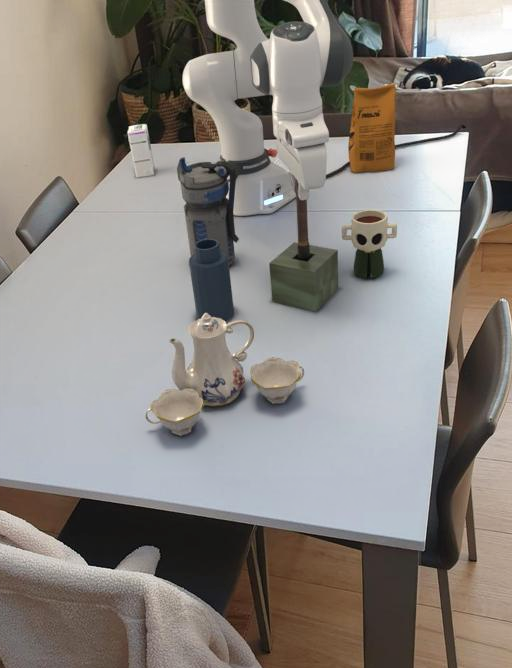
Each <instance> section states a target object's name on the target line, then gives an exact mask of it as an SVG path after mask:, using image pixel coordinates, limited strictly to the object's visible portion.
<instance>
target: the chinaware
mask: <svg viewBox="0 0 512 668" xmlns="http://www.w3.org/2000/svg"><path fill="white" fill-rule="evenodd" d="M235 325H245V326H247V328H248V330H249V336H248V340H247V342H246V343H245V344H244V346H243V347H241V348H240V349H239V350H237V351H235V352H234V353H233V354H232V353H231V351H230V350H229V347H228V346H227V340H226V334H230V335H231V334H233V333H234V329H233V327H232V326H235ZM187 329H188V333H189V335H190V336H191V339H192V341H193V350H194V351H193V356H192V360H191V362H190V364H189V366H188V368H187V369H186V353H185V346H184V344H183V343H182V341H181V340H179V339H177V338H170V339H169V340H168V343H171V344H172V345H173V346H174V349H175V350H174V357H173V362H172V363H173V364H172V368H171V378H172V381H173V383H174V386H176V387H177V389H175V388H170V389H165V390H164V391H163V392H162V393H160V395H159V397H158V398H157V399H154V400H153V401H152V403H151V404H150V408H148V409H147V410H146V412H145V419H146V421H147V422H148V423H150V424H153V425H157V424H160V423H161V425H162V427H163V428H166V429H168V430H170V431H171V433H172V434H174V435H178V436H181V437H182V436H184V435H187V434H189V433H191V432H192V428H193V427H194V426H195V425H196V423H197V422H198V419H199V418H200V413H201V410H202V409H203V407H204V406H205V407H211V408H213V407H223V406H225V405H229V404H230V403H233V402H234V401H235V400H236V399H237V398H239V396H240V395H241V390H242V388H244V386H245V385H246V378H245V375H244V368H243V366H242V364H241V363H240V362H245V361H246V360H247V358H248V353H247V352H246V351H247V350H248V349H249V348H250V346H251V345H252V343H253V341H254V338H255V331H254V327H253V326H252V324H250V323H249V322H248V321H246V320H244V319H236V320H232V321H230V322H228V323H227V321H226V322H225V321H224V320H222V319H221V318H216V317H211V316H210V315H209V314H208V313H204V315H203V316H202V318H201V319H198V318H197V320H195V321H193V322H192V323H191V324H190V325H188V328H187ZM304 376H305V369H304V368H303V367H302V366H301V365H299V363H298V361H294V360H284V359H283V358H281V357H274V356H273V357H270V358H267V359H266V360H264V361H263V362H262V363H256V364H254V365H252V366H251V368H250V380H251V383H252V384H253V385H254V386H255V387H256V388H257V390H258V392H259V393H260V394H261V395H262V396H263V397H265V398H266V399H267V401H268V402H270V403H271V404H283V403H285V402H286V401H287V399H288V398H289V396H291V394H292V393H293V392H294V391H295V388H296V387H297V383H299V382H301V380H302V379H303V377H304ZM149 412H152V413H153V414H154V416H155V417H156V418H157V419H158V421H153V420H151V419H149V417H148V413H149Z"/></svg>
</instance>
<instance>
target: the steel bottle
mask: <svg viewBox="0 0 512 668" xmlns="http://www.w3.org/2000/svg"><path fill="white" fill-rule="evenodd" d="M194 250H195V254H193V255H192V256H191V255H190V257H189V258H188V265H189V272H190V279H191V284H192V285H191V286H192V293H193V300H194V306H195V314H196V318H197V320H198V319H201V318H202V316H203V315H204V313H208V314H209V315H210V316H211V317H216V318H221V319H222V320H224V321H225V322H226V323H227V322H229V320H231V319H232V318H233V317H234V315H235V308H234V299H233V297H234V296H233V289H232V281H231V280H232V279H231V272H230V266H229V261H228V255H227V253H226V252H224V251H222V250H220V246H219V242H218V240H215V239H203V240H200V241H198V242H196V243H195V245H194Z"/></svg>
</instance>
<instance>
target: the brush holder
mask: <svg viewBox="0 0 512 668" xmlns="http://www.w3.org/2000/svg"><path fill="white" fill-rule="evenodd" d="M297 243H298V242H296V241H294V242H292V243H291V244H290V245H289V246H288V247H287V248H285V249H284V250H283V251H282V252H281V253H279V255H277V256H276V257H274V258H273V259H272V260H271V261H270V262H269V264H268V265H269V276H270V277H269V278H270V290H271V301H272V302H273V303H277V304H281V305H285V306H289V307H294V308H298V309H302V310H307V311H311V312H314V313H315V312H317V311H318V310H319V309H320V308H321V307H322V306H323V305H324V304H325V303H326V302H327V301H329V300H330V298H331V297H332V296H333V295H334V294H335V293H336V292H337V291H338V290H339V251H338V249H335V248H330V247H324V246H318V245H313V244H310V260H308V261H307V262H306V261H301V260H298V249H297Z"/></svg>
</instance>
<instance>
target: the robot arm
mask: <svg viewBox="0 0 512 668" xmlns="http://www.w3.org/2000/svg"><path fill="white" fill-rule="evenodd" d="M283 1H284V2H286V3H289V4H291V5H293V7H295V8H296V9H297V11H298V12H299V15H300V16H301V19H302V21H298V20H297V21H288V22H287V21H286V22H284V23H281V24H279V25H277V26H275V27H274V28H273V29H272V30H271V32H270V34H269V35H270V36H269V38H268V37H267V36H266V35H265V33H264V32H263V30H262V28H261V26H260V23H259V20H258V18H257V13H256V12H257V11H256V6H255V0H204V6H205V7H204V9H205V17H206V23H207V26H208V27H209V29H210V30H211V31H212V32H213V33H215V34H216V35H218V36H220V37H223V38H226V39H228V40H230V41H232V42H233V43H234V44H235V45H236V48H235V49H233V50H227V51H221V52H220V51H219V52H214V53H213V52H212V53H207V54H204V55H200V56H198V57H195V58H193V59H190V60H188V62H187V63H186V65H185V66H184V68H183V72H182V86H183V89H184V92H185V93H186V96H187V97H188V98H189V99H190V100H191V101H192V102H194V103H196V104H198V105H199V106H200V107H202V108H203V109H204V110H205V111H206V112H207V113H208V114H209V115H210V117H211V118H212V120H213V122H214V124H215V128H216V130H217V135H218V140H219V148H220V156H219V161H224V162H229V163H230V164H232V165H233V166H234V167H235V170H236V185H235V197H234V209H233V215H234V216H239V217H241V216H242V217H243V216H244V217H245V216H254V215H270V214H273V213H275V212H277V210H279V209H280V208H282V207H284V206H285V205H286V204H288V203H289V202H291V201H292V200H294V199H296V188H295V178H296V179H297V180H298V183H299V189H297V192H298V197H299V199H300V200H306V199H307V200H309V198H310V191H312V190H316V189H321V188H323V187H324V186H325V183H326V180H327V179H328V178H330V177H332V176H334V175H337V174H339V173H341V172H342V171H343V170H345V169H346V168H348V166H350V161H348V162H346V163H345V164H343V165H342V166H341V167H339V168H337V169H335V170H333V171H331V172H329V173H328V174H327V163H328V161H327V157H328V155H327V145H326V143H329V142H330V132H329V129H328V127H327V125H326V122H325V119H324V113H323V100H322V99H323V98H322V96H321V92H320V91H321V90H320V89H321V88H329V87H337V86H339V85H340V84H341V83H342V82H343V81H344V80H345V79H346V77H347V76H348V75H349V73H350V71H352V68H353V65H354V51H353V50H354V49H353V45H352V42H351V39H350V38H349V36H348V34H347V33H346V32H345V30H344V29H343V28H342V27H341V25H340V24H339V22H338V21H337V19H336V18H335V16H334V14H333V12H332V10H331V8H330V6H329V4H328V2H327V0H283ZM263 96H272V104H271V114H272V117H271V118H272V131H273V137H275V138H276V149H275V148H269V149H267V148H265V142H264V141H265V140H264V128H263V127H264V126H263V122H262V120H261V119H260V117H259V116H258V115H256V114H255V113H253V112H251V111H249V110H245V109H243V108H241V107H239V106H238V105H237V103H236V102H235V101H236V100H238V99H239V100H240V99H248V98H254V97H263ZM466 128H467V127H466V125H465V124H463V123H461V124H459V125H458V126H457V128H456V129H455V130H454V132H451V133H449V134H446V135H441V136H436V137H430V138H424V139H419V140H413V141H408V142H403V143H398V144H395V149H399V148H401V147H407V146H408V147H409V146H413V145H418V144H423V143H424V144H425V143H429V142H436V141H441V140H442V141H443V140H446V139H450V138H452V137H455V136H456V135H457V134H458V133H459V132H460V131H461V129H466ZM270 157H271V158H276V157H278V159H279V160H280V161H281V162H282V164H283V165H284V166H285V167H286V168H287V169H285V168H284V167H281V166H280V165H279V164H276V163H274V162H273V161H271V159H270ZM287 170H288V171H287ZM227 179H228V184H229V187H230V175H229V176H228V178H227ZM226 198H227V199H228V200H229V191H228V194H227V196H226Z"/></svg>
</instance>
